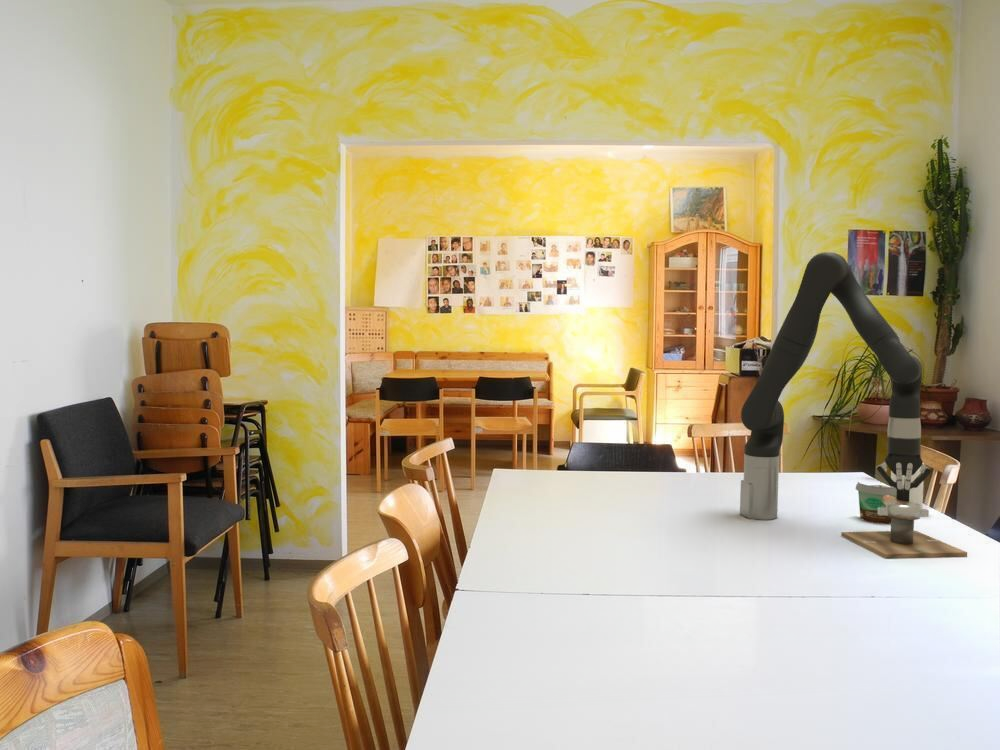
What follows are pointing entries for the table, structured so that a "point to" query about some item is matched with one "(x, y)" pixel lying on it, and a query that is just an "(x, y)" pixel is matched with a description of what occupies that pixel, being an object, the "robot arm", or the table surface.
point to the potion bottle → (914, 493)
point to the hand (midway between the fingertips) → (902, 503)
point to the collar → (901, 509)
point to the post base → (903, 549)
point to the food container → (873, 501)
